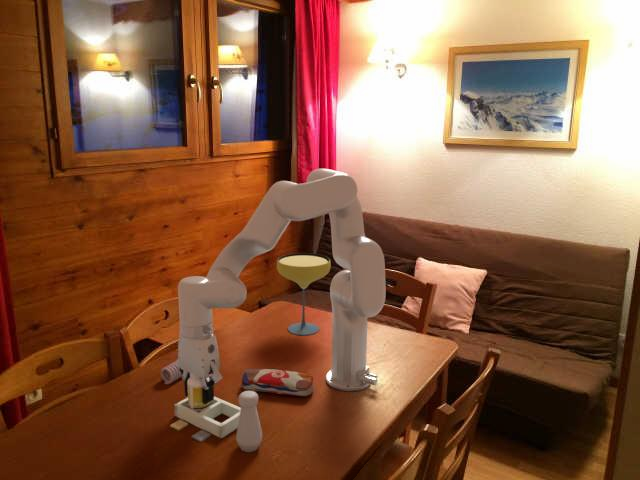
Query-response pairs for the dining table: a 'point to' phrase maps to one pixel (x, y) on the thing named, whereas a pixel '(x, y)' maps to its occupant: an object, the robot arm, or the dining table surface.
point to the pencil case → (278, 382)
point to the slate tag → (201, 435)
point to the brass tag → (179, 425)
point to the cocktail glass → (303, 280)
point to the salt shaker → (248, 422)
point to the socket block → (210, 416)
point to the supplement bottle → (196, 393)
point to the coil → (170, 373)
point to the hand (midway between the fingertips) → (199, 397)
